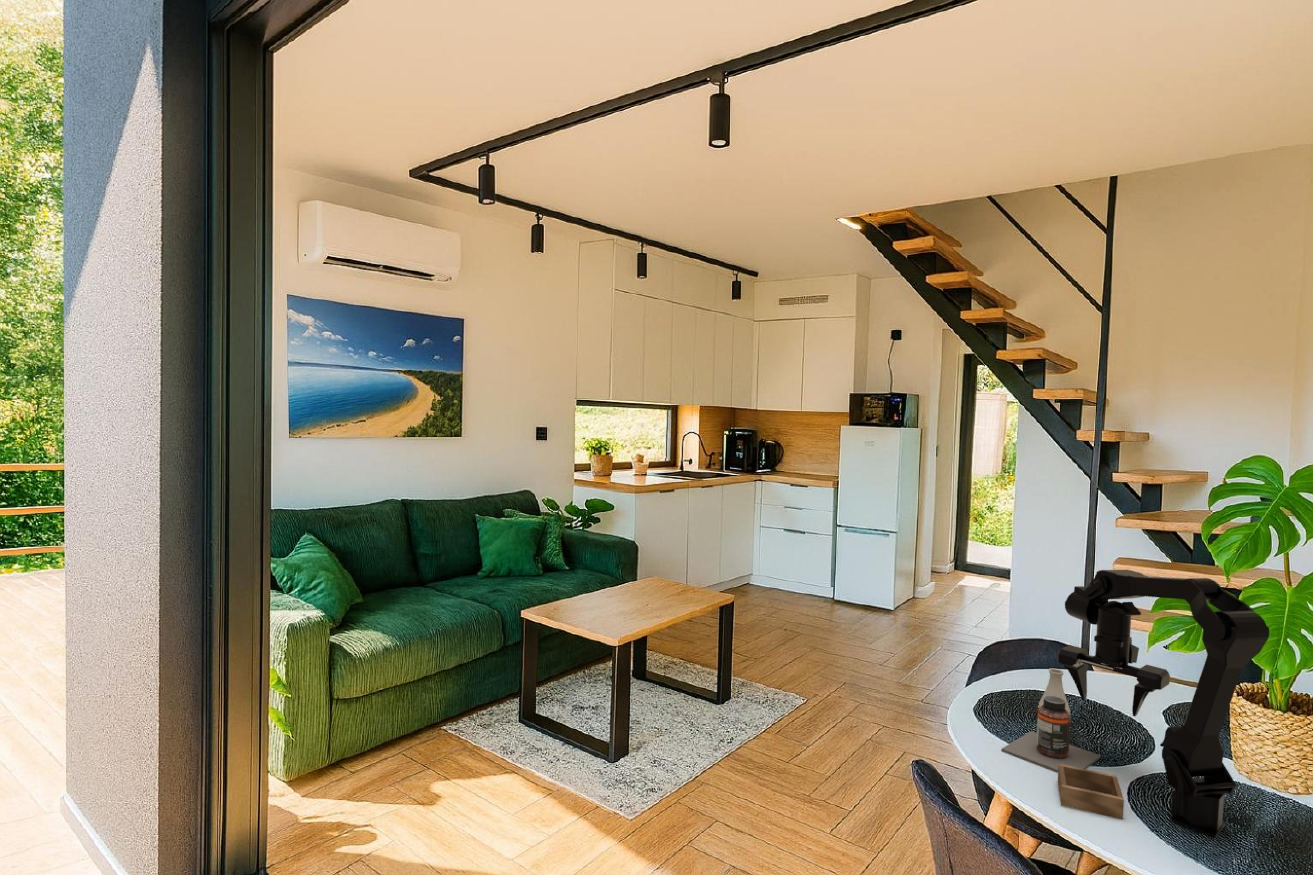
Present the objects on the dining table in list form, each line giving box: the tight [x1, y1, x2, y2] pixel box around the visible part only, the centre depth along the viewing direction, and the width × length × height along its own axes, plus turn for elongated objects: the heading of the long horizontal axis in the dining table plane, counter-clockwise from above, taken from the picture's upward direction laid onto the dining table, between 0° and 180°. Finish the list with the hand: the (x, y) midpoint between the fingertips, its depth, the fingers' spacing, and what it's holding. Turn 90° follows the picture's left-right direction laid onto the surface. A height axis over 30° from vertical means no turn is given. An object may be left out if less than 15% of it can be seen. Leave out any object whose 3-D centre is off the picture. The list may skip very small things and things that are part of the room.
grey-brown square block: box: [1000, 731, 1101, 774], centre depth 153 cm, size 14×14×1 cm
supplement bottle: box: [1036, 696, 1071, 758], centre depth 152 cm, size 6×6×11 cm
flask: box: [1037, 668, 1071, 715], centre depth 175 cm, size 7×7×10 cm
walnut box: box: [1057, 764, 1125, 820], centre depth 135 cm, size 10×10×4 cm
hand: (1108, 707), depth 148 cm, fingers open, 9 cm apart
